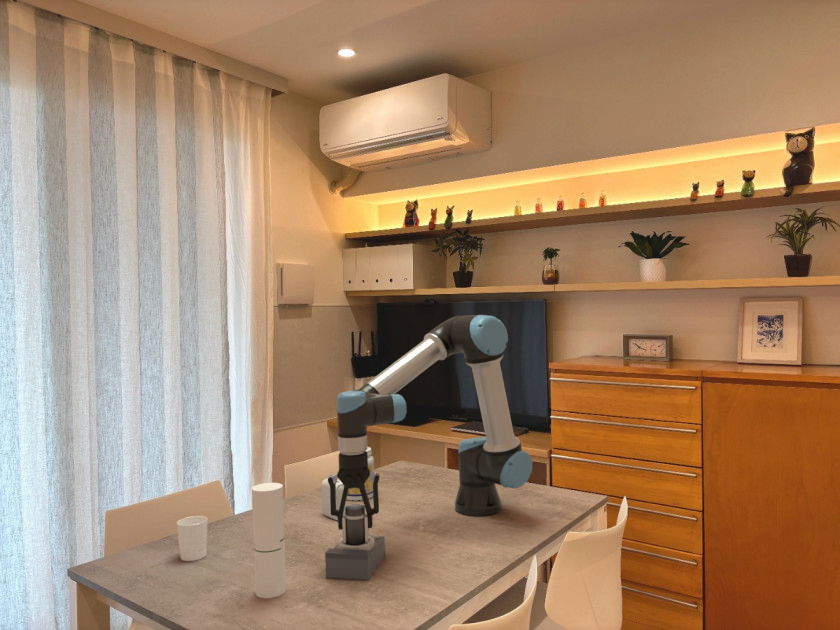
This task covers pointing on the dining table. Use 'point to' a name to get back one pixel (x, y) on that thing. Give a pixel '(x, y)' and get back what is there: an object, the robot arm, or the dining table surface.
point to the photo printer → (326, 498)
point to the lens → (355, 524)
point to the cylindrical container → (269, 540)
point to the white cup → (192, 537)
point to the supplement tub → (355, 492)
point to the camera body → (355, 559)
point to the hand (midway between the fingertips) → (356, 540)
